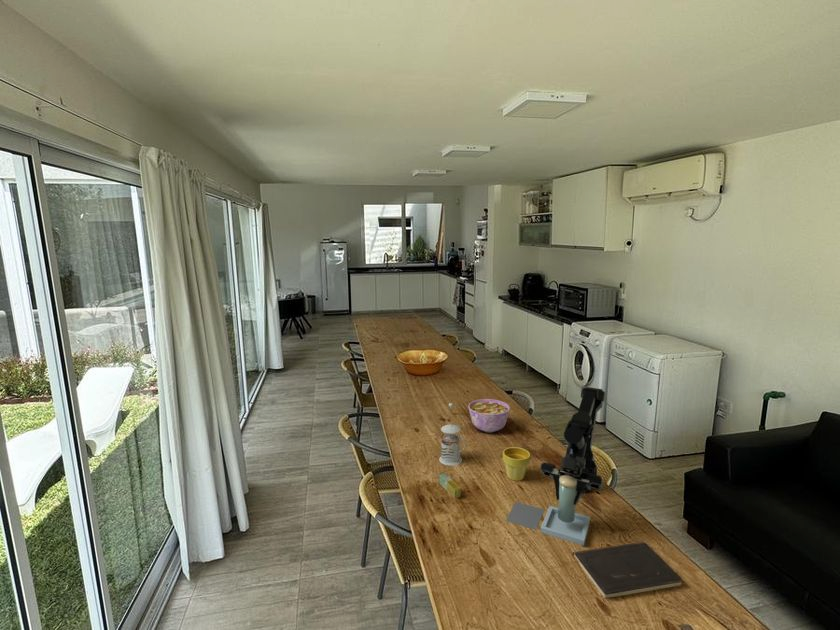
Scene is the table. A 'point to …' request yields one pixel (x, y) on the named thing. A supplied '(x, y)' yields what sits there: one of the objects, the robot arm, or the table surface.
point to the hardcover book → (626, 569)
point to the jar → (567, 498)
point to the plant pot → (516, 462)
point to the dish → (566, 527)
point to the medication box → (450, 485)
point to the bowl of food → (489, 414)
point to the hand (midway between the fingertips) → (566, 502)
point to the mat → (525, 515)
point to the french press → (453, 456)
